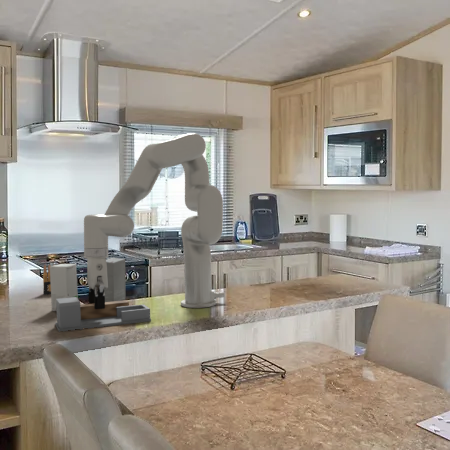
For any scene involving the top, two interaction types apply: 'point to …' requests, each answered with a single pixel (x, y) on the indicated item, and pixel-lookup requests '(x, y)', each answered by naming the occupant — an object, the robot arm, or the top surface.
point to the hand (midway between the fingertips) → (96, 305)
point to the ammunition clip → (47, 281)
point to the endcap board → (72, 318)
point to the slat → (109, 310)
